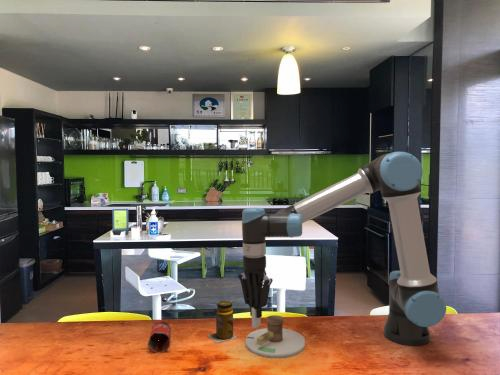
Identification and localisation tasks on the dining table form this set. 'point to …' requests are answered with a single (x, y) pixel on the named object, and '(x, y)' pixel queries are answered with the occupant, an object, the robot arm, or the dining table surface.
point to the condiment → (223, 323)
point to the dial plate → (276, 344)
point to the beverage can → (160, 336)
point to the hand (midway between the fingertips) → (256, 326)
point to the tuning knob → (272, 330)
